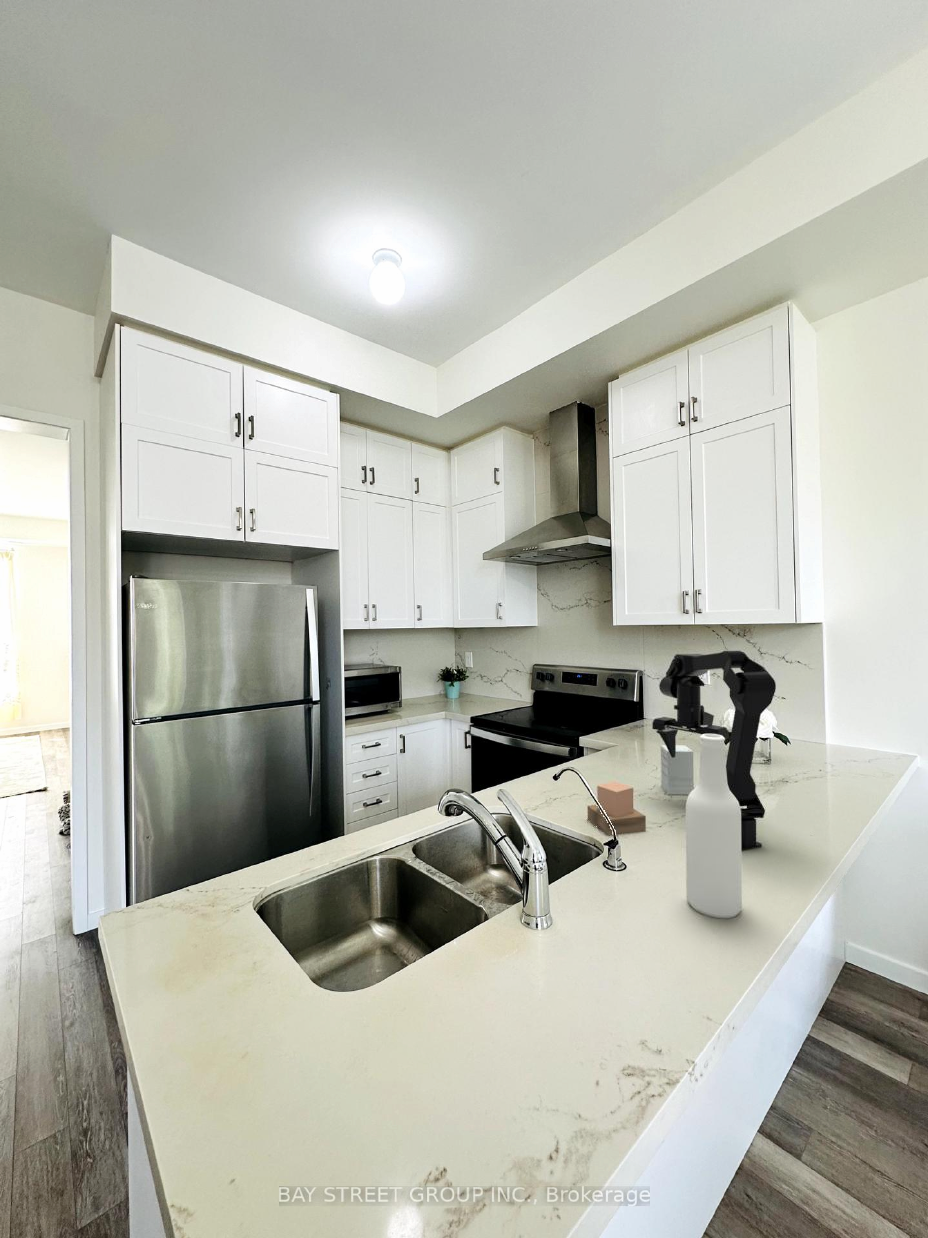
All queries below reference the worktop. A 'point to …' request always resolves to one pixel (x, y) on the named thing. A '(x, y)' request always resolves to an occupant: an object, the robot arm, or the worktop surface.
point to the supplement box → (677, 770)
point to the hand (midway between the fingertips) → (689, 761)
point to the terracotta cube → (615, 798)
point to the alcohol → (713, 837)
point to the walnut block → (617, 821)
